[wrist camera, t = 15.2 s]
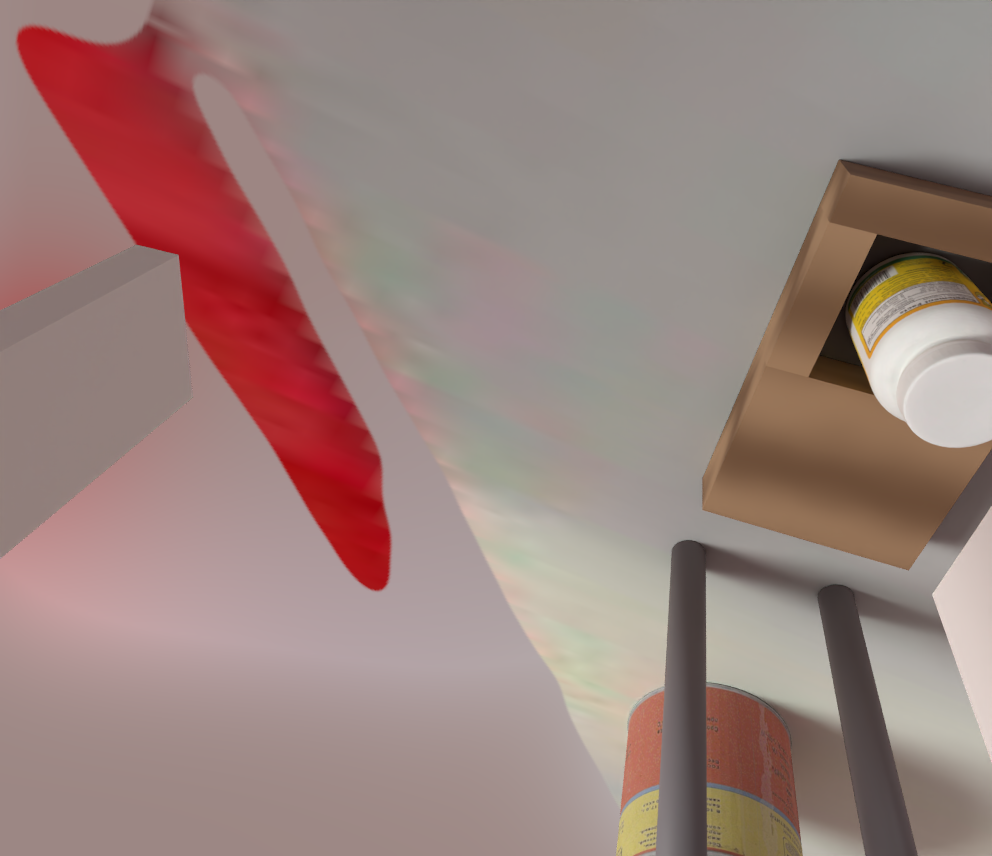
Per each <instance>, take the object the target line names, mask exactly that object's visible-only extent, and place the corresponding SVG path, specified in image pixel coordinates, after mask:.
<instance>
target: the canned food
mask: <svg viewBox="0 0 992 856" xmlns="http://www.w3.org/2000/svg"><path fill="white" fill-rule="evenodd" d="M664 689H665V687H662V688H659V689H657V690H655V691H653V692H651V693H649V694H647V695H646V696H644V697H643V698H642V699H641V700H640V701H639V702H638V703H637V704H636V705H635V706H634V708H633V709H632V711H631V713H630V716H629V720H628V741H627V751H626V761H625V771H624V782H623V792H622V802H621V812H620V823H619V833H618V843H617V853H616V856H656V838H657V819H658V801H659V782H660V763H661V745H662V726H663V707H664ZM706 737H707V856H803V855H802V846H801V837H800V828H799V820H798V811H797V802H796V794H795V785H794V776H793V767H792V759H791V737H790V733H789V730H788V728H787V726H786V724H785V722H784V721H783V719H782V718H781V717H780V716H779V714H778V713H777V712H776V711H775V710H774V709H772V708H771V707H770V706H769V705H768V704H766V703H765V702H763V701H762V700H760V699H759V698H757V697H755V696H753V695H751V694H749V693H747V692H744V691H742V690H739V689H736V688H733V687H729V686H725V685H721V684H715V683H706Z"/></svg>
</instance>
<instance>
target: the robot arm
mask: <svg viewBox="0 0 992 856" xmlns="http://www.w3.org/2000/svg"><path fill="white" fill-rule="evenodd" d="M189 365H190V364H189V354H188V344H187V335H186V325H185V315H184V305H183V295H182V285H181V276H180V266H179V256H178V255H176V254H172V253H168V252H164V251H160V250H156V249H152V248H147V247H143V246H139V245H134V246H133V247H130V248H128V249H126V250H124V251H122V252H120V253H118V254H116V255H114V256H112V257H110V258H108V259H106V260H103V261H101V262H99V263H97V264H95V265H93V266H91V267H89V268H87V269H85V270H83V271H81V272H79V273H77V274H75V275H73V276H70V277H68V278H66V279H64V280H62V281H60V282H58V283H56V284H54V285H52V286H50V287H48V288H46V289H44V290H42V291H39V292H38V293H35V294H33V295H31V296H29V297H27V298H25V299H23V300H21V301H19V302H17V303H15V304H13V305H11V306H9V307H7V308H4V309H2V310H0V558H1V557H3V556H4V555H5V554H6V553H8V552H9V551H10V550H11V549H12V548H14V547H15V546H16V545H17V544H18V543H20V542H21V541H22V540H23V539H24V538H25V537H27V536H28V535H29V534H30V533H32V532H33V530H35V529H36V528H37V527H39V526H40V525H41V524H42V523H43V522H45V521H46V520H47V519H48V518H49V517H51V516H52V515H53V514H54V513H55V512H57V511H58V510H59V509H60V508H61V507H62V506H64V505H65V504H66V503H67V502H69V501H70V500H71V499H72V498H73V497H75V496H76V495H77V494H78V493H79V492H81V491H82V490H83V489H84V488H85V487H87V486H88V485H89V484H90V483H91V482H93V480H95V479H96V478H97V477H99V476H100V475H101V474H102V473H103V472H105V471H106V470H107V469H108V468H109V467H111V466H112V465H113V464H114V463H115V462H116V461H118V460H119V459H120V458H121V457H123V456H124V455H125V454H126V453H127V452H129V451H130V450H131V449H132V448H133V447H135V445H137V444H138V443H139V442H141V441H142V440H143V439H144V438H145V437H147V436H148V435H149V434H150V433H151V432H153V431H154V430H155V429H156V428H157V427H159V426H160V425H161V424H162V423H163V422H164V421H166V420H167V419H168V418H169V417H170V416H171V415H173V414H174V413H175V412H177V411H178V410H179V409H180V408H181V407H182V406H184V405H185V404H186V403H187V402H189V401H190V400H191V399H192V398H193V394H192V383H191V374H190V366H189ZM932 596H933V599H934V601H935V604H936V607H937V610H938V613H939V615H940V618H941V621H942V624H943V627H944V630H945V632H946V635H947V638H948V641H949V644H950V646H951V649H952V652H953V655H954V658H955V660H956V663H957V666H958V669H959V672H960V674H961V677H962V680H963V683H964V686H965V689H966V691H967V694H968V697H969V700H970V703H971V705H972V708H973V711H974V714H975V717H976V719H977V722H978V725H979V728H980V731H981V734H982V736H983V739H984V742H985V745H986V748H987V750H988V753H989V756H990V759H991V762H992V506H991V508H990V509H989V511H988V512H987V514H986V515H985V517H984V518H983V520H982V521H981V523H980V524H979V526H978V527H977V529H976V530H975V532H974V533H973V535H972V536H971V538H970V539H969V541H968V542H967V544H966V545H965V547H964V548H963V550H962V551H961V552H960V554H959V555H958V557H957V558H956V560H955V561H954V563H953V564H952V566H951V567H950V569H949V570H948V572H947V573H946V575H945V576H944V578H943V579H942V581H941V582H940V584H939V585H938V587H937V588H936V590H935V591H934V593H933V594H932Z"/></svg>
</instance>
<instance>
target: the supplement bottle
mask: <svg viewBox="0 0 992 856" xmlns="http://www.w3.org/2000/svg"><path fill="white" fill-rule="evenodd" d="M845 316H846V324H847V328H848V331H849V334H850V336H851V338H852V341H853V343H854V346H855V348H856V351H857V353H858V356H859V358H860V361H861V363H862V366H863V368H864V371H865V373H866V376H867V378H868V381H869V384H870V386H871V389H872V391H873V393H874V395H875V397H876V398H877V400H878V401H879V403H880V404H881V405H882V406H883V407H884V408H885V409H886V410H887V411H888V412H889V413H891V414H892V415H893V416H895V417H897V418H898V419H900V420H903V421H905V422H906V423H907V424H908V426H909V427H910V429H911V430H912V431H913V432H914V433H915V434H916V435H917V436H918V437H920V438H921V439H923V440H925V441H927V442H929V443H931V444H934V445H938V446H942V447H948V448H963V447H971V446H976V445H979V444H982V443H985V442H988V441H990V440H992V303H991V302H990V301H989V300H988V299H987V298H986V297H985V296H984V294H983V293H982V292H981V291H980V290H979V289H978V288H977V287H976V285H975V284H974V283H973V282H972V281H971V280H970V278H969V277H968V276H967V275H966V274H965V273H964V272H963V271H962V270H960V269H959V268H958V267H957V266H956V265H955V264H954V263H952V262H951V261H950V260H948V259H946V258H944V257H942V256H939V255H936V254H931V253H907V254H902V255H898V256H894V257H891V258H889V259H886V260H884V261H883V262H881V263H879V264H877V265H876V266H874V267H873V268H871V269H870V270H869V271H867V272H866V273H865V274H864V275H863V276H862V277H861V278H860V279H859V280H858V282H857V283H856V284H855V286H854V287H853V289H852V291H851V293H850V295H849V298H848V301H847V305H846V313H845Z"/></svg>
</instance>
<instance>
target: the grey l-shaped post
mask: <svg viewBox="0 0 992 856" xmlns="http://www.w3.org/2000/svg"><path fill="white" fill-rule="evenodd" d="M818 603H819V608H820V613H821V619H822V624H823V630H824V635H825V640H826V646H827V651H828V656H829V662H830V667H831V673H832V678H833V683H834V689H835V694H836V699H837V705H838V710H839V715H840V721H841V726H842V732H843V737H844V742H845V748H846V753H847V758H848V764H849V769H850V775H851V780H852V785H853V791H854V796H855V801H856V807H857V812H858V817H859V823H860V828H861V834H862V839H863V844H864V850H865V855H866V856H918V855H917V851H916V847H915V843H914V839H913V835H912V831H911V827H910V822H909V818H908V814H907V810H906V806H905V802H904V798H903V794H902V790H901V786H900V782H899V778H898V774H897V770H896V765H895V761H894V757H893V753H892V749H891V745H890V741H889V737H888V733H887V729H886V725H885V721H884V717H883V713H882V709H881V704H880V700H879V696H878V692H877V688H876V684H875V680H874V676H873V672H872V668H871V664H870V660H869V656H868V652H867V647H866V643H865V639H864V635H863V631H862V627H861V623H860V619H859V615H858V611H857V607H856V603H855V599H854V595H853V592H852V591H851V590H850V589H849V588H847V587H845V586H842V585H830V586H827V587H824V588H823V589H822V590H821V591H820V592H819V594H818ZM656 856H707V737H706V553H705V550H704V548H703V547H702V546H701V545H700V544H699V543H697V542H694V541H689V540H686V541H681V542H679V543H677V544H676V545H675V546H674V547H673V549H672V558H671V577H670V595H669V614H668V633H667V651H666V670H665V689H664V707H663V726H662V745H661V763H660V782H659V801H658V819H657V838H656Z"/></svg>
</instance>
